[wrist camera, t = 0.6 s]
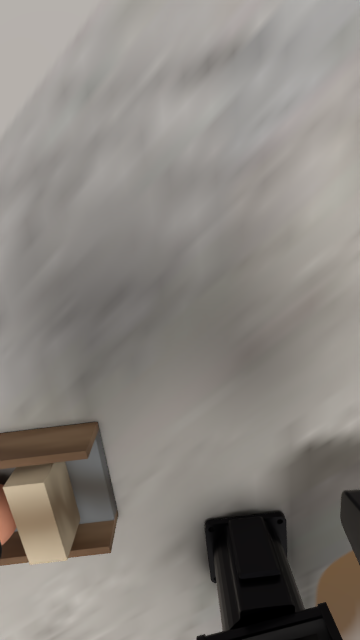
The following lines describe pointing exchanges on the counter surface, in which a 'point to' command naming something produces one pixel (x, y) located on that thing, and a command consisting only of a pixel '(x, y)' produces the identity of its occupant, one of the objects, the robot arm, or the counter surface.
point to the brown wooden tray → (85, 476)
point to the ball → (5, 518)
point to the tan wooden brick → (43, 510)
